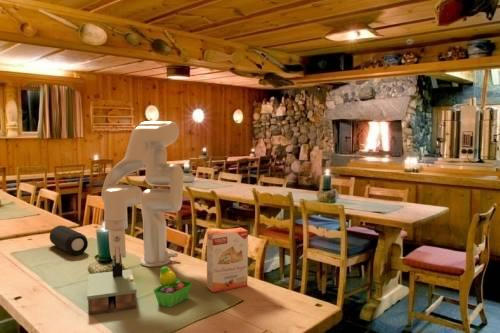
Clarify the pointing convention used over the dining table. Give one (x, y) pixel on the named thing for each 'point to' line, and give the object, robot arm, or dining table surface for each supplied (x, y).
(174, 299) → the green plastic basket
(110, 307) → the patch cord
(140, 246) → the dining table surface
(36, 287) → the dining table surface
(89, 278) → the cover
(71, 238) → the portable speaker
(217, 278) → the cracker box
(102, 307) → the brown brick base
